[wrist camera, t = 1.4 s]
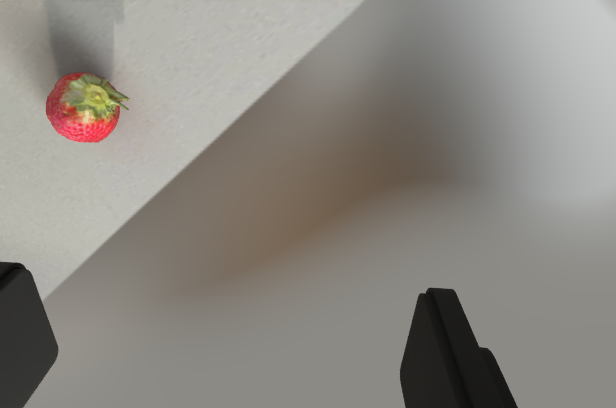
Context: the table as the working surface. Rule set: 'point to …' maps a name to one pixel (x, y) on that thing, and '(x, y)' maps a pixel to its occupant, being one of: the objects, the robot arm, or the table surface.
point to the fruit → (84, 107)
